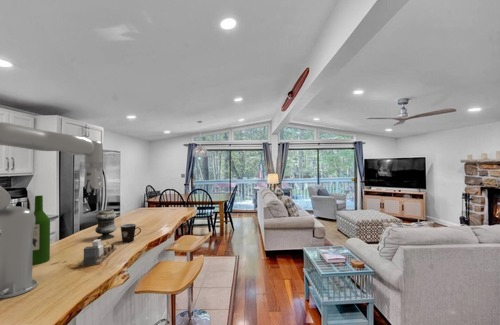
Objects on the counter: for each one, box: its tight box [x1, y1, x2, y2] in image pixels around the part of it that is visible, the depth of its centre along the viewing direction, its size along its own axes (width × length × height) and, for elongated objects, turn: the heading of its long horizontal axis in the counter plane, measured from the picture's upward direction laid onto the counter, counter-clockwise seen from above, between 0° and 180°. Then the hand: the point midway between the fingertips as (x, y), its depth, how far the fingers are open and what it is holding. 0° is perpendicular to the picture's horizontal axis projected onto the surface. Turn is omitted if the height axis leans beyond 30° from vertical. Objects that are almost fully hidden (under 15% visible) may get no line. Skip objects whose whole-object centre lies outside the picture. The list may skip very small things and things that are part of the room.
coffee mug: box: [120, 223, 142, 244], centre depth 153 cm, size 12×9×10 cm
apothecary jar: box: [94, 208, 117, 241], centre depth 162 cm, size 12×12×18 cm
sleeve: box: [91, 238, 103, 257], centre depth 125 cm, size 5×4×8 cm
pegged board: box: [78, 240, 117, 267], centre depth 128 cm, size 22×9×8 cm, turn 11°
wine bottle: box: [32, 195, 51, 266], centre depth 121 cm, size 9×9×32 cm
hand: (93, 203), depth 121 cm, fingers closed
